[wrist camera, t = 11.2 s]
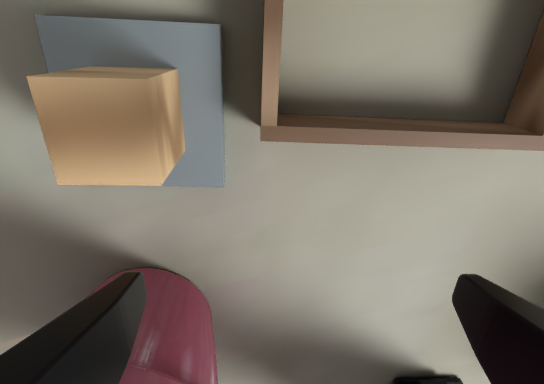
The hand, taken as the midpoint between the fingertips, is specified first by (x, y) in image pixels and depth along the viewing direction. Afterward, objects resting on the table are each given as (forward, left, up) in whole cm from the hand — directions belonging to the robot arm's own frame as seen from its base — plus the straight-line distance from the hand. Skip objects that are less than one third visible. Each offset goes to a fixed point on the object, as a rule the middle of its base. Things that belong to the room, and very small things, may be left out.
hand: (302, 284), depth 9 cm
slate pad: (+2, +8, -12) cm, 15 cm away
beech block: (+2, +8, -11) cm, 14 cm away
